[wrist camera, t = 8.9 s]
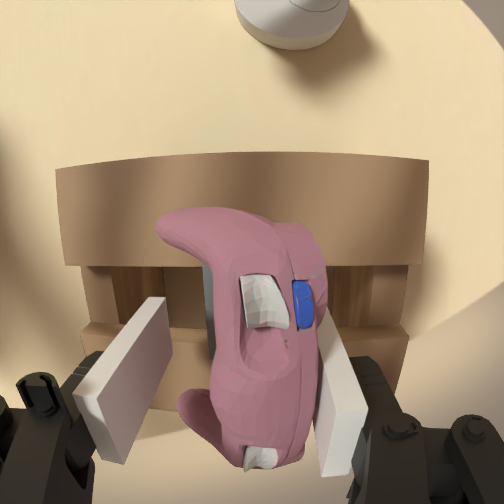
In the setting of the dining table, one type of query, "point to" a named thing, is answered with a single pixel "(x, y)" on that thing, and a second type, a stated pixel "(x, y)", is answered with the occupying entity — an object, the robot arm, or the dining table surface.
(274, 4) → the wall hook
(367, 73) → the dining table surface
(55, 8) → the dining table surface
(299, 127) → the dining table surface
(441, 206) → the dining table surface
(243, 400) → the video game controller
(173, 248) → the walnut shelf
